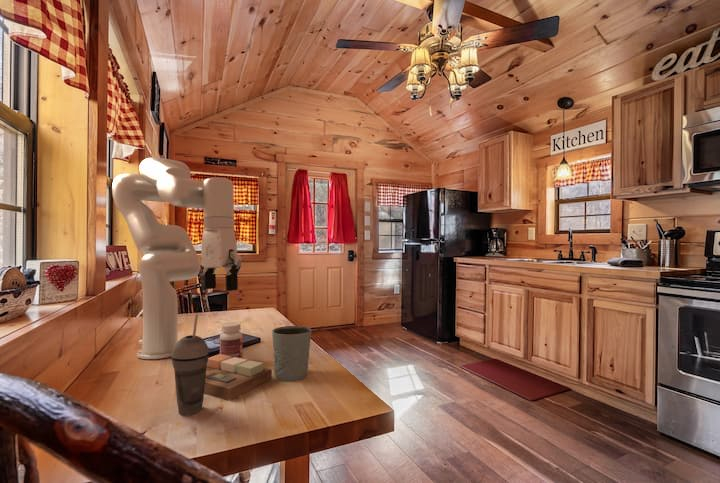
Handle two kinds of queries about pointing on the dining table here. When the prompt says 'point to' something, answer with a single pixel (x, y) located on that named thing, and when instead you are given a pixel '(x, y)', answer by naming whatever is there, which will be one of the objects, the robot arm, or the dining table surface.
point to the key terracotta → (217, 360)
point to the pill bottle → (231, 340)
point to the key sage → (249, 368)
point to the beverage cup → (190, 372)
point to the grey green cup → (291, 352)
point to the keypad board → (232, 382)
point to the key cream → (232, 364)
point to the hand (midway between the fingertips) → (220, 289)
